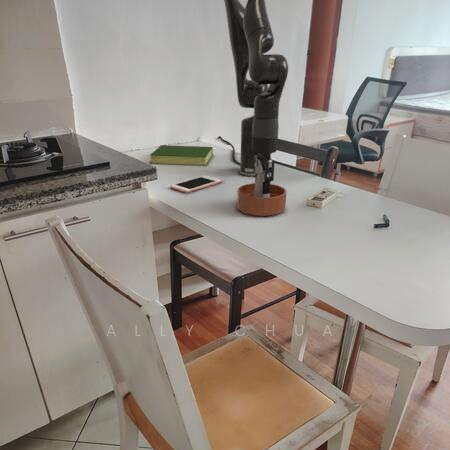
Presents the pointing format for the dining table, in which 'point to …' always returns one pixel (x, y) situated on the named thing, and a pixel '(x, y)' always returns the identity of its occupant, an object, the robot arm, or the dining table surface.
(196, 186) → the cell phone
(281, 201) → the bowl
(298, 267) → the dining table surface
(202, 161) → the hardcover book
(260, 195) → the salt shaker
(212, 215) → the dining table surface
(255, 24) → the robot arm
